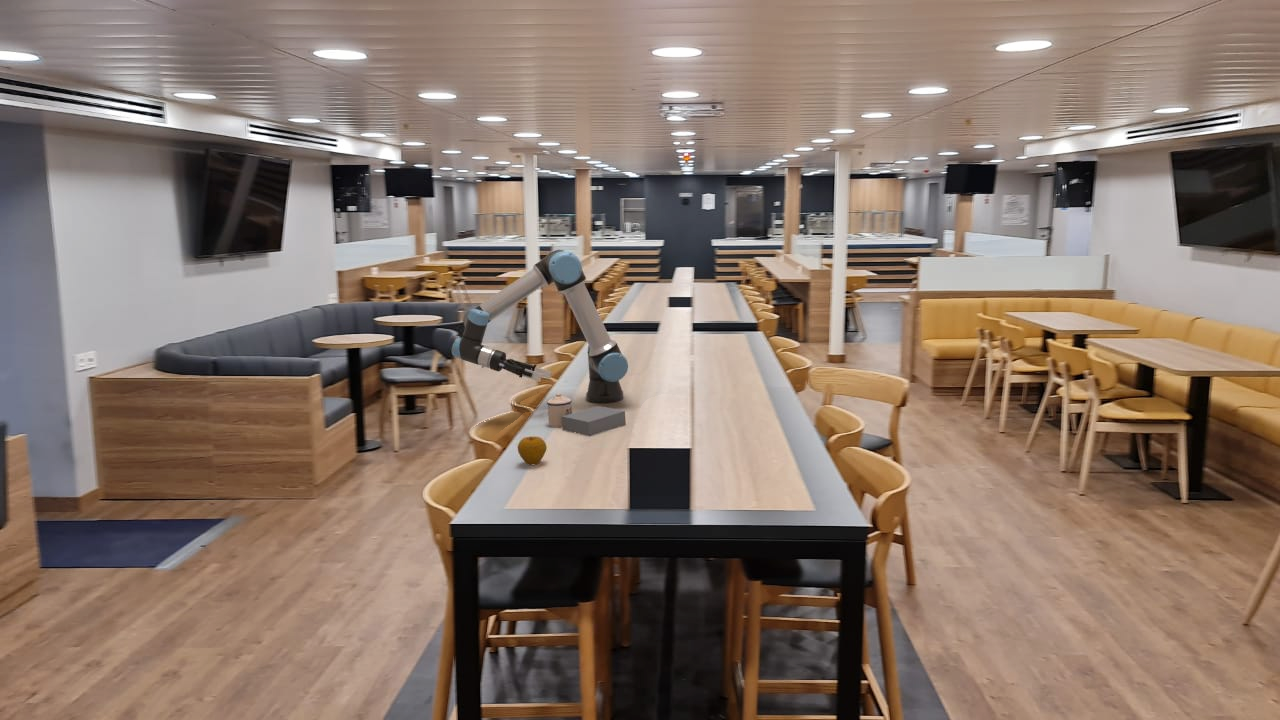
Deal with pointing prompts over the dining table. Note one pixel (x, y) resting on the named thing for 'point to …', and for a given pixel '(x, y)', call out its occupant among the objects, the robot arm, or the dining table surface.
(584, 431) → the charcoal rectangular block
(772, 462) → the dining table surface
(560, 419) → the teacup with lid
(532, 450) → the apple
